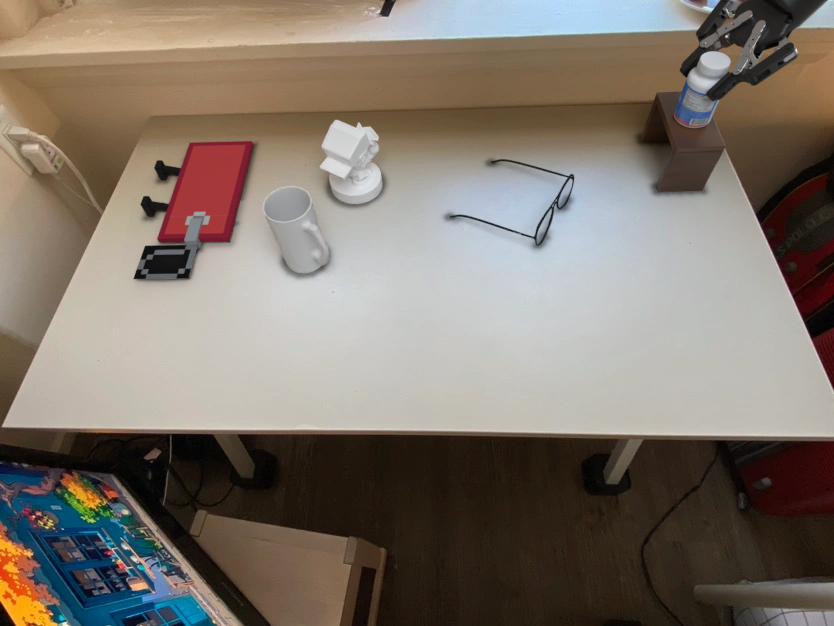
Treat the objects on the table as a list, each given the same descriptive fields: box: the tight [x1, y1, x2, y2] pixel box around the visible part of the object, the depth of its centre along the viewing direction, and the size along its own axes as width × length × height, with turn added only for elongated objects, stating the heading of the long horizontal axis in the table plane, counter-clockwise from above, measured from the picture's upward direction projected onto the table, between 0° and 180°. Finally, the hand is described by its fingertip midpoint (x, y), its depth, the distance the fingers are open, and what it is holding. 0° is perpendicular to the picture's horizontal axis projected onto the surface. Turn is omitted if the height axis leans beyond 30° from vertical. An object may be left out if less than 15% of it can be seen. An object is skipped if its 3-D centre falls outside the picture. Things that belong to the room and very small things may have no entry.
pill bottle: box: [674, 51, 732, 128], centre depth 81 cm, size 6×5×10 cm
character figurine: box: [319, 119, 383, 205], centre depth 89 cm, size 9×10×12 cm
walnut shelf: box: [640, 90, 727, 193], centre depth 89 cm, size 13×7×9 cm, turn 0°
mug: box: [262, 185, 330, 274], centre depth 80 cm, size 10×7×12 cm, turn 48°
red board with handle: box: [132, 140, 254, 280], centre depth 92 cm, size 30×3×15 cm
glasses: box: [449, 158, 575, 247], centre depth 88 cm, size 14×15×5 cm
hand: (696, 85), depth 80 cm, fingers closed on pill bottle, 5 cm apart
